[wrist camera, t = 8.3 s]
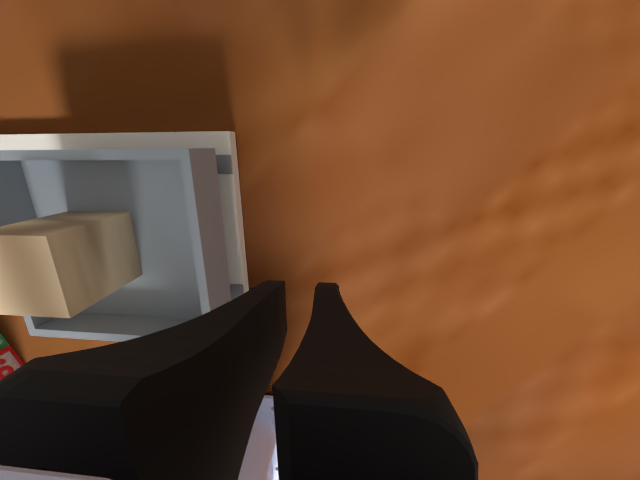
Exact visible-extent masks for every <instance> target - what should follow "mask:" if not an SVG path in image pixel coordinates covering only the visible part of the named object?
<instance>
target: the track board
mask: <svg viewBox="0 0 640 480" xmlns="http://www.w3.org/2000/svg"><path fill="white" fill-rule="evenodd" d="M183 148H215V153H216V163H217V172H218V181H219V190H220V200H221V209H222V218H223V227H224V237H225V246H226V255H227V264H228V274H229V283H230V292H231V300H233V299H235V298H236V297H238V296H240V295H242V294H244V293H245V292H247V291H249V285H248V274H247V262H246V251H245V240H244V228H243V217H242V205H241V194H240V183H239V171H238V160H237V148H236V137H235V132H233V131H200V132H136V133H73V134H9V135H0V150H76V149H183Z"/></svg>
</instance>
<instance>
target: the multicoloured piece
mask: <svg viewBox="0 0 640 480" xmlns="http://www.w3.org/2000/svg"><path fill="white" fill-rule="evenodd" d="M23 365H24V363H23V362H22V361H21V359H20V358H19V357H18V355H17V354H16V353H15V351H14V350H13V349H12V347H11V346H10V345H9V344H8V342H7V341H6V340H5V338H4V337H3V336H2V334H1V333H0V380H1V379H3V378H4V377H6V376H7V375H9V374H10V373H12V372H13V371H15V370H16V369H18V368H20V367H21V366H23Z"/></svg>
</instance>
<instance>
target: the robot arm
mask: <svg viewBox="0 0 640 480" xmlns="http://www.w3.org/2000/svg"><path fill="white" fill-rule="evenodd" d="M286 332H287V320H286V299H285V281H271V280H268V281H266V282H263V283H261V284H259V285H258V286H256V287H254V288H252V289H251V290H249V291H247V292H245V293H244V294H242V295H240V296H238V297H236V298H235V299H233V300H231V301H229V302H227V303H225V304H223V305H221V306H219V307H217V308H215V309H213V310H211V311H210V312H207V313H205V314H203V315H201V316H198V317H196V318H194V319H191V320H189V321H186V322H184V323H181V324H178V325H176V326H173V327H170V328H167V329H164V330H160V331H157V332H154V333H151V334H148V335H145V336H141V337H138V338H134V339H130V340H126V341H123V342H118V343H114V344H110V345H105V346H101V347H96V348H91V349H86V350H80V351H75V352H69V353H63V354H57V355H52V356H46V357H39V358H34V359H32V360H30V361H29V362H27V363H26V364H24V365H23V366H21V367H20V368H18V369H16V370H15V371H13V372H12V373H10V374H9V375H7V376H6V377H4V378H3V379H1V380H0V480H478V462H477V459H476V456H475V453H474V450H473V447H472V444H471V442H470V439H469V437H468V435H467V432H466V430H465V428H464V426H463V424H462V422H461V420H460V418H459V416H458V415H457V413H456V411H455V409H454V407H453V406H452V404H451V402H450V400H449V398H448V397H447V395H446V393H445V392H444V390H443V389H442V388H441V387H439V386H437V385H436V384H434V383H432V382H430V381H428V380H426V379H425V378H423V377H421V376H419V375H417V374H415V373H414V372H412V371H410V370H409V369H407V368H406V367H404V366H403V365H401V364H400V363H398V362H397V361H395V360H394V359H392V358H391V357H390V356H389V355H387V354H386V353H385V352H384V351H382V350H381V349H380V348H379V347H378V346H377V345H375V344H374V343H373V342H372V341H371V340H370V339H369V338H368V337H367V335H366V334H365V333H364V332H363V331H362V330H361V328H360V327H359V326H358V324H357V323H356V322H355V320H354V319H353V317H352V316H351V314H350V313H349V311H348V309H347V307H346V305H345V304H344V302H343V300H342V297H341V295H340V292H339V286H338V285H337V284H336V283H321V282H319V283H318V284H317V286H316V287H315V293H314V301H313V309H312V316H311V320H310V323H309V325H308V328H307V330H306V333H305V335H304V337H303V340H302V342H301V344H300V346H299V348H298V350H297V352H296V353H295V355H294V357H293V359H292V360H291V362H290V364H289V365H288V366H287V368H286V369H285V370H284V372H283V373H282V374H281V376H280V377H279V378H278V380H277V381H276V382H275V383H274V384H273V385H272V390H273V396H270V395H265V393H266V390H267V388H268V385H269V383H270V380H271V378H272V375H273V373H274V370H275V368H276V365H277V363H278V360H279V358H280V355H281V352H282V348H283V344H284V340H285V336H286ZM273 406H274V407H273Z"/></svg>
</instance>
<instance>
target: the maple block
mask: <svg viewBox="0 0 640 480" xmlns="http://www.w3.org/2000/svg"><path fill="white" fill-rule="evenodd" d="M141 275H142V271H141V266H140V261H139V256H138V251H137V246H136V241H135V237H134V232H133V227H132V222H131V217H130V212H91V211H67V212H62V213H58V214H53V215H49V216H45V217H40V218H36V219H31V220H27V221H22V222H18V223H14V224H9V225H5V226H0V315H17V316H36V317H55V318H72V317H73V316H75V315H77V314H78V313H80V312H82V311H83V310H85V309H87V308H88V307H90V306H92V305H93V304H95V303H96V302H98V301H100V300H101V299H103V298H105V297H106V296H108V295H110V294H111V293H113V292H115V291H116V290H118V289H120V288H121V287H123V286H125V285H126V284H128V283H130V282H131V281H133V280H135V279H136V278H138V277H140V276H141Z"/></svg>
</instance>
